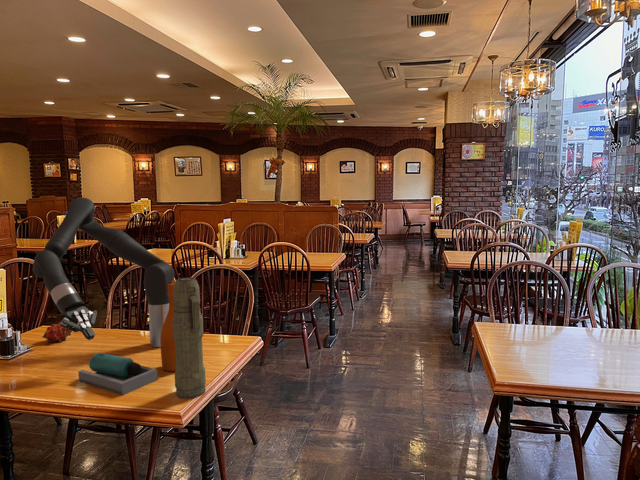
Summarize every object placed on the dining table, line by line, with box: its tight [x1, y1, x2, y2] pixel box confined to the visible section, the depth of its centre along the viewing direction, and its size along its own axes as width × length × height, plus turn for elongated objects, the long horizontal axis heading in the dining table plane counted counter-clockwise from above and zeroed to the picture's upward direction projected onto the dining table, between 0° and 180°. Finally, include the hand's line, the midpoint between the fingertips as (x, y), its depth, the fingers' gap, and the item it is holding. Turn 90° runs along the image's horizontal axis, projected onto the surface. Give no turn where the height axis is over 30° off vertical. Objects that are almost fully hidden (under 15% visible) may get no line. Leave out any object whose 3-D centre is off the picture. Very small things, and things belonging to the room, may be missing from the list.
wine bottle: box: [160, 282, 176, 372], centre depth 156 cm, size 10×10×30 cm
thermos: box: [172, 276, 207, 400], centre depth 135 cm, size 9×12×35 cm
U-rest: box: [77, 364, 159, 396], centre depth 146 cm, size 22×13×4 cm, turn 60°
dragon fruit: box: [42, 321, 73, 343], centre depth 190 cm, size 8×8×12 cm
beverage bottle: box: [88, 352, 142, 378], centre depth 149 cm, size 6×7×20 cm
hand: (91, 338), depth 152 cm, fingers closed
